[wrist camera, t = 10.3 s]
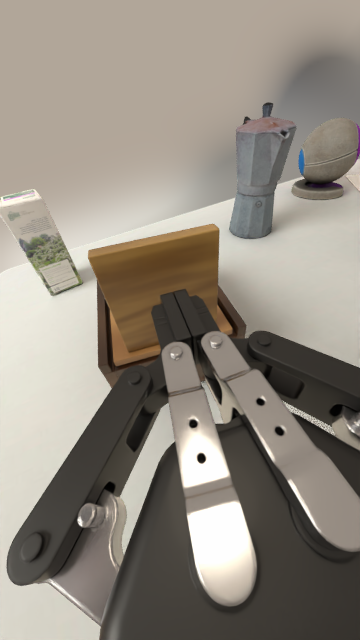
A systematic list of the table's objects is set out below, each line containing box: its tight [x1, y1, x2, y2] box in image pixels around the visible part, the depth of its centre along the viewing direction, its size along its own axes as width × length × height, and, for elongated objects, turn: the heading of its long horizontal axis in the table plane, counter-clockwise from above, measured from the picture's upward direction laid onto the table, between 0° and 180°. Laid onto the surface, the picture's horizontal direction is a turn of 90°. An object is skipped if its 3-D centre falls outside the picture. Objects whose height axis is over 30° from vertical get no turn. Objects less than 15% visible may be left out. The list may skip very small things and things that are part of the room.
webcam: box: [292, 118, 360, 199], centre depth 56 cm, size 13×13×15 cm
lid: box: [88, 224, 233, 366], centre depth 22 cm, size 18×11×10 cm, turn 16°
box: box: [97, 280, 246, 388], centre depth 28 cm, size 18×13×7 cm
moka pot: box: [229, 103, 296, 238], centre depth 42 cm, size 10×15×20 cm, turn 18°
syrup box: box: [0, 189, 83, 295], centre depth 36 cm, size 6×6×14 cm
